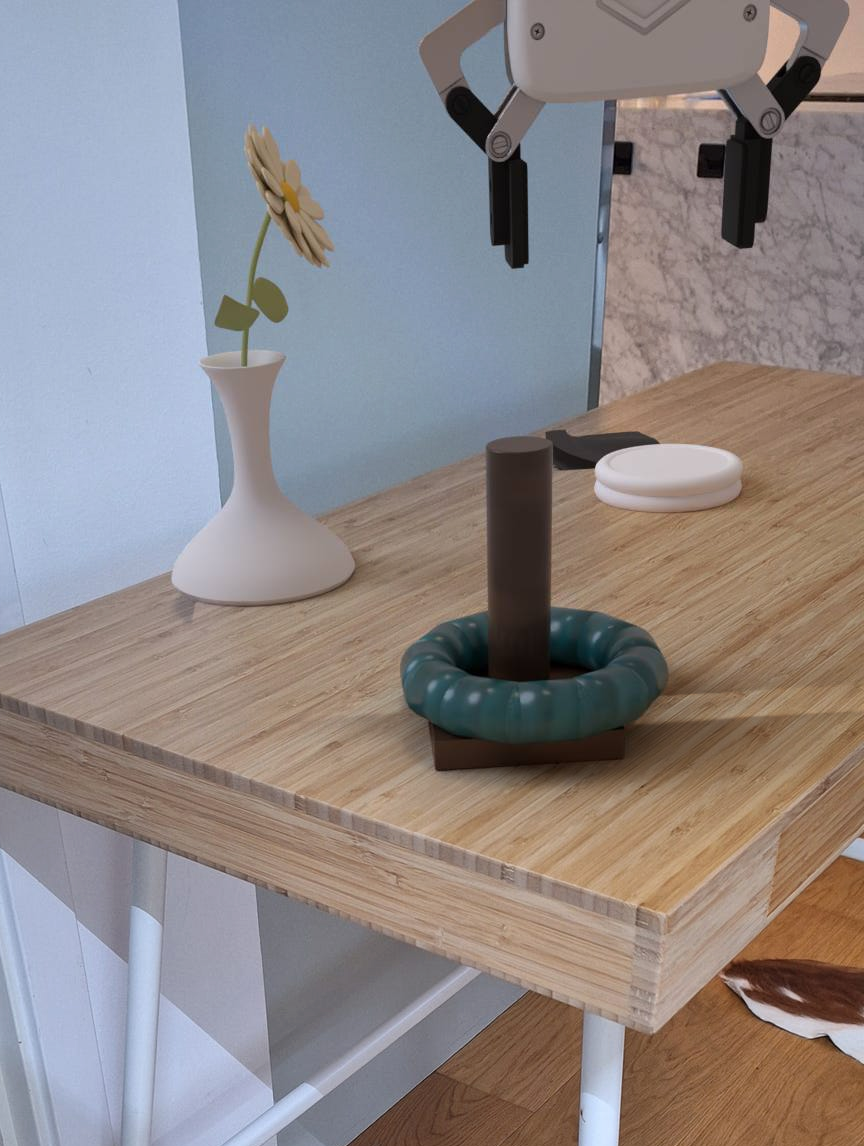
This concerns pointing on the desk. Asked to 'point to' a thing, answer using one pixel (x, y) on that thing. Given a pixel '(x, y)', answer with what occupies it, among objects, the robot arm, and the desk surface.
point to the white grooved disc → (668, 478)
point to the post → (520, 606)
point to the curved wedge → (591, 447)
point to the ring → (535, 708)
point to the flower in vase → (262, 432)
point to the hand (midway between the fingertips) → (626, 254)
